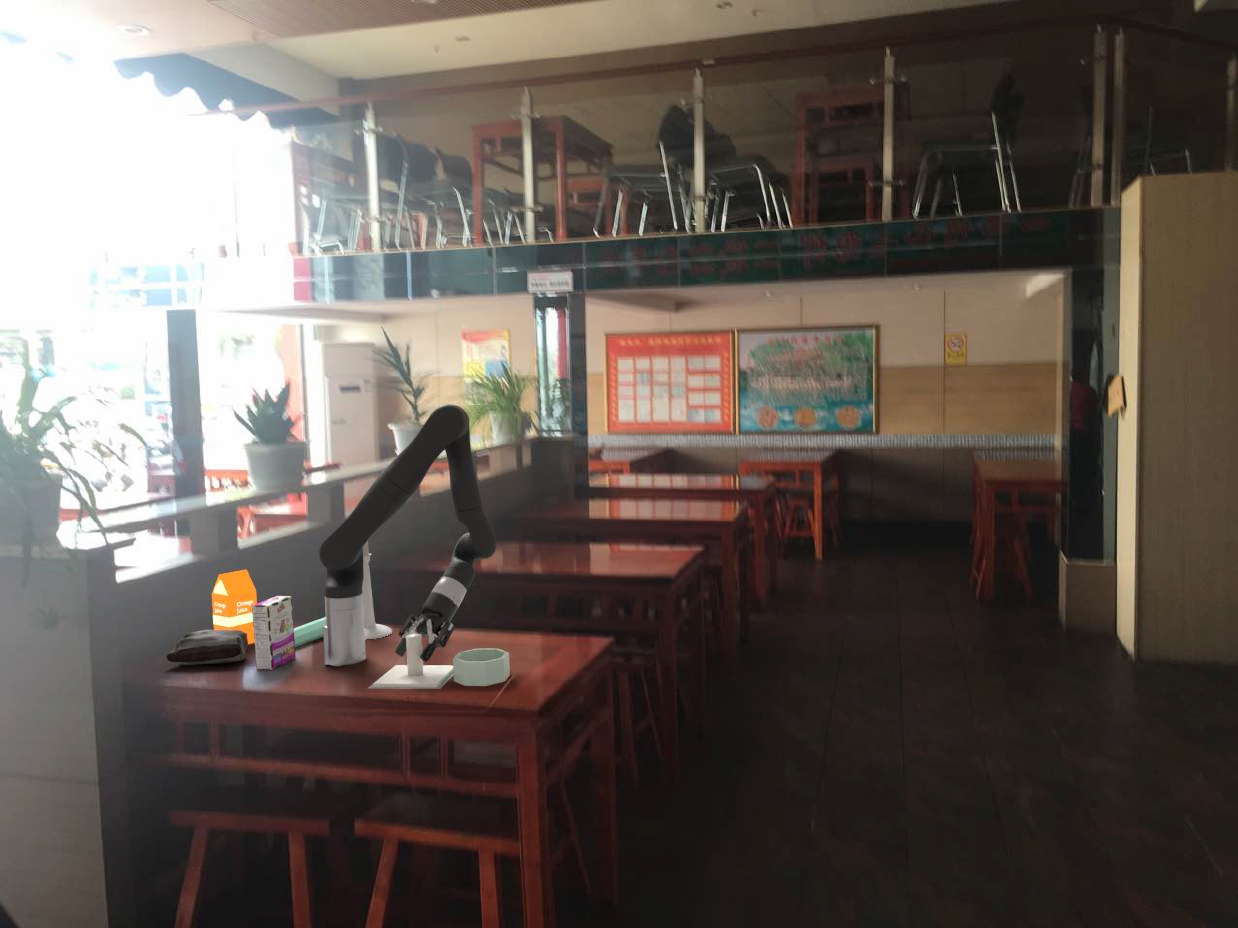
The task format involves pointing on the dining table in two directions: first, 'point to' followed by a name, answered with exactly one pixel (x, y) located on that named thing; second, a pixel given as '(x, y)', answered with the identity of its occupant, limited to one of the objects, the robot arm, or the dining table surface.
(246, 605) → the orange juice
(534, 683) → the dining table surface
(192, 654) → the dark pillow-shaped pouch
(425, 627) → the robot arm
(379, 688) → the mat
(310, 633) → the container
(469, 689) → the dining table surface
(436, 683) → the cover
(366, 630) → the candlestick
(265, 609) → the candy bar box
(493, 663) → the bowl
